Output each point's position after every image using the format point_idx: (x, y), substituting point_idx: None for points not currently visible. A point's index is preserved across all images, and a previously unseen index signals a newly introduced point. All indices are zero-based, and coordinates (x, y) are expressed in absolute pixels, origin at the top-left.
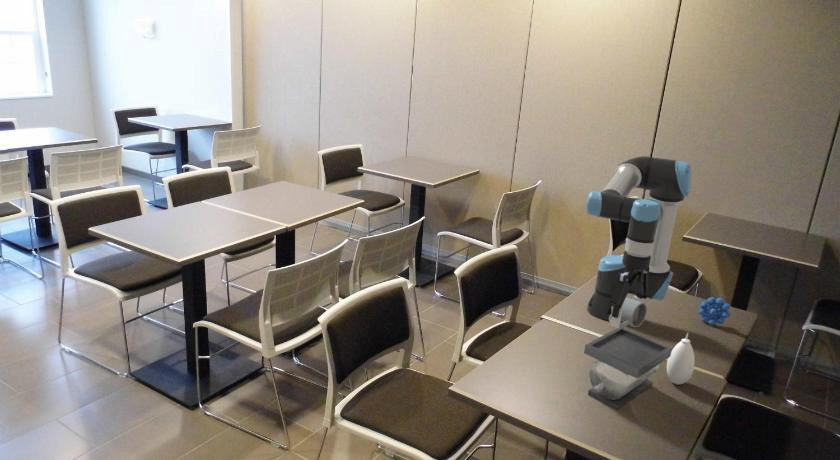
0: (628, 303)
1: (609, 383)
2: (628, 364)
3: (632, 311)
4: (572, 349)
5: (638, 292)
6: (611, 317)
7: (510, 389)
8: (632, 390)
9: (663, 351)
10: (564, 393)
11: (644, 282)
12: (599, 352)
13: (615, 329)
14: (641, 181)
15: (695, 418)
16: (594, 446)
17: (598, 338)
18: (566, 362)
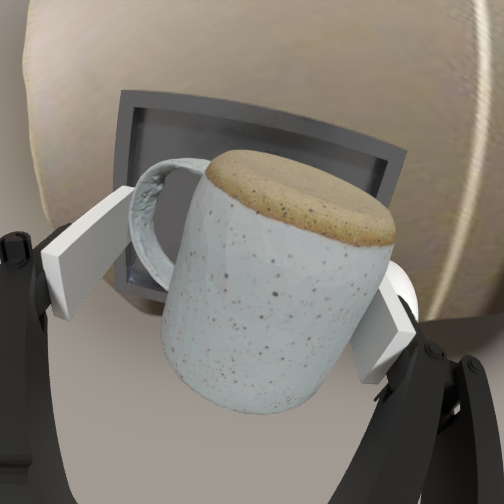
0: (203, 335)
1: None
2: (116, 260)
3: (164, 345)
4: (375, 14)
5: (386, 406)
6: (96, 206)
7: (81, 3)
8: None
9: None
10: (139, 78)
11: (430, 497)
12: (115, 154)
13: (366, 137)
14: None
15: None
16: (47, 206)
17: (217, 101)
18: (292, 16)
